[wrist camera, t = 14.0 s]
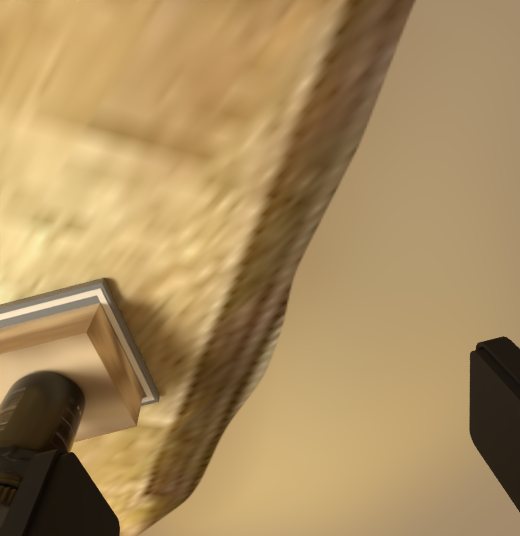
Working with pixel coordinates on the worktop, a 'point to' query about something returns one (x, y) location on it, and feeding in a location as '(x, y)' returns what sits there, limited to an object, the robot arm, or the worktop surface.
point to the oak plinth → (76, 365)
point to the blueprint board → (77, 299)
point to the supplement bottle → (35, 426)
